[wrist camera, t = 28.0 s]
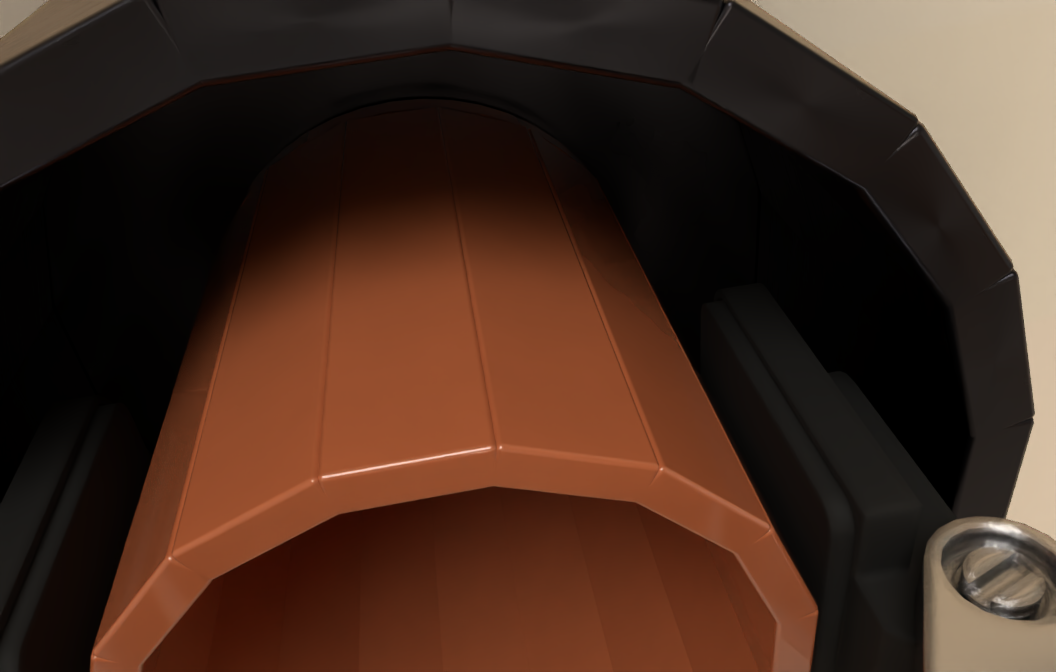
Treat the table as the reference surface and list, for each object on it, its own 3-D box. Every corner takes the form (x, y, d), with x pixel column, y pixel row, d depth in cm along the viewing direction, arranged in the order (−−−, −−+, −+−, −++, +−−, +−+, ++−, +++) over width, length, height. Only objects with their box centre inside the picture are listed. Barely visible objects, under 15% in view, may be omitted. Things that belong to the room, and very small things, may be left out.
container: (159, 136, 12) (-66, 547, 6) (615, 65, 12) (851, 383, 6) (283, 474, 16) (223, 945, 10) (632, 411, 16) (793, 827, 10)
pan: (-176, -75, 11) (-738, 113, 5) (817, -211, 11) (1212, -167, 6) (171, 592, 18) (82, 959, 12) (768, 483, 18) (929, 786, 13)
